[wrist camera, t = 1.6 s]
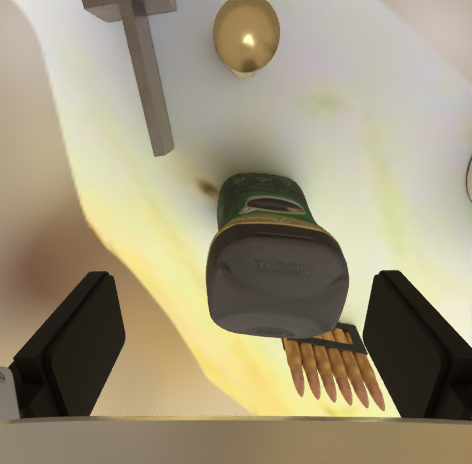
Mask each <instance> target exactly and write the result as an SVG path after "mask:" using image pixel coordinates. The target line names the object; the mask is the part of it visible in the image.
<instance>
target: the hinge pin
mask: <svg viewBox="0 0 472 464" xmlns="http://www.w3.org/2000/svg"><path fill="white" fill-rule="evenodd" d="M279 38H280V27H279V21H278V18H277V15H276V13H275V11H274V9H273V8H272V6H271V5H270V4H269V3H268V2H267V1H266V0H228V1H227V2H226V3H225V4H224V5H223V6H222V7H221V9H220V10H219V12H218V14H217V17H216V19H215V23H214V28H213V39H214V45H215V48H216V51H217V53H218V55H219V57H220V58H221V60H222V61H223V62H224V64H225V65H226V66H228V67H229V68H230V69H231V71H232V72H233V73H234V74H235V75H236V76H238V77H240V78H249V77H251V76H253V75H254V74H255V73H256V72H257V71H258V70H260V69H262V68H263V67H264V66H265V65H266V64H267V63H268V62H269V61H270V60H271V59H272V57H273V55H274V54H275V52H276V50H277V47H278V43H279Z"/></svg>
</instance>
